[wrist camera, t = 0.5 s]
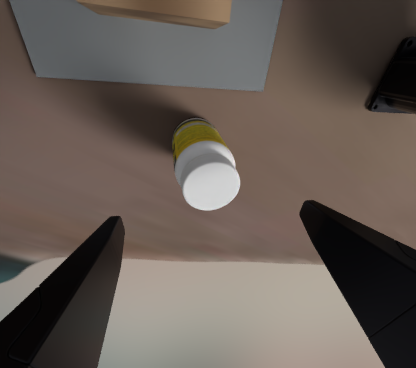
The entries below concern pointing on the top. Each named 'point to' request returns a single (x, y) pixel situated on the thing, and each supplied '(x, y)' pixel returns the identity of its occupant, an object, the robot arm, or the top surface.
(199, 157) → the supplement bottle
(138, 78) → the build mat
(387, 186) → the top surface
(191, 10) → the base block
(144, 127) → the top surface
